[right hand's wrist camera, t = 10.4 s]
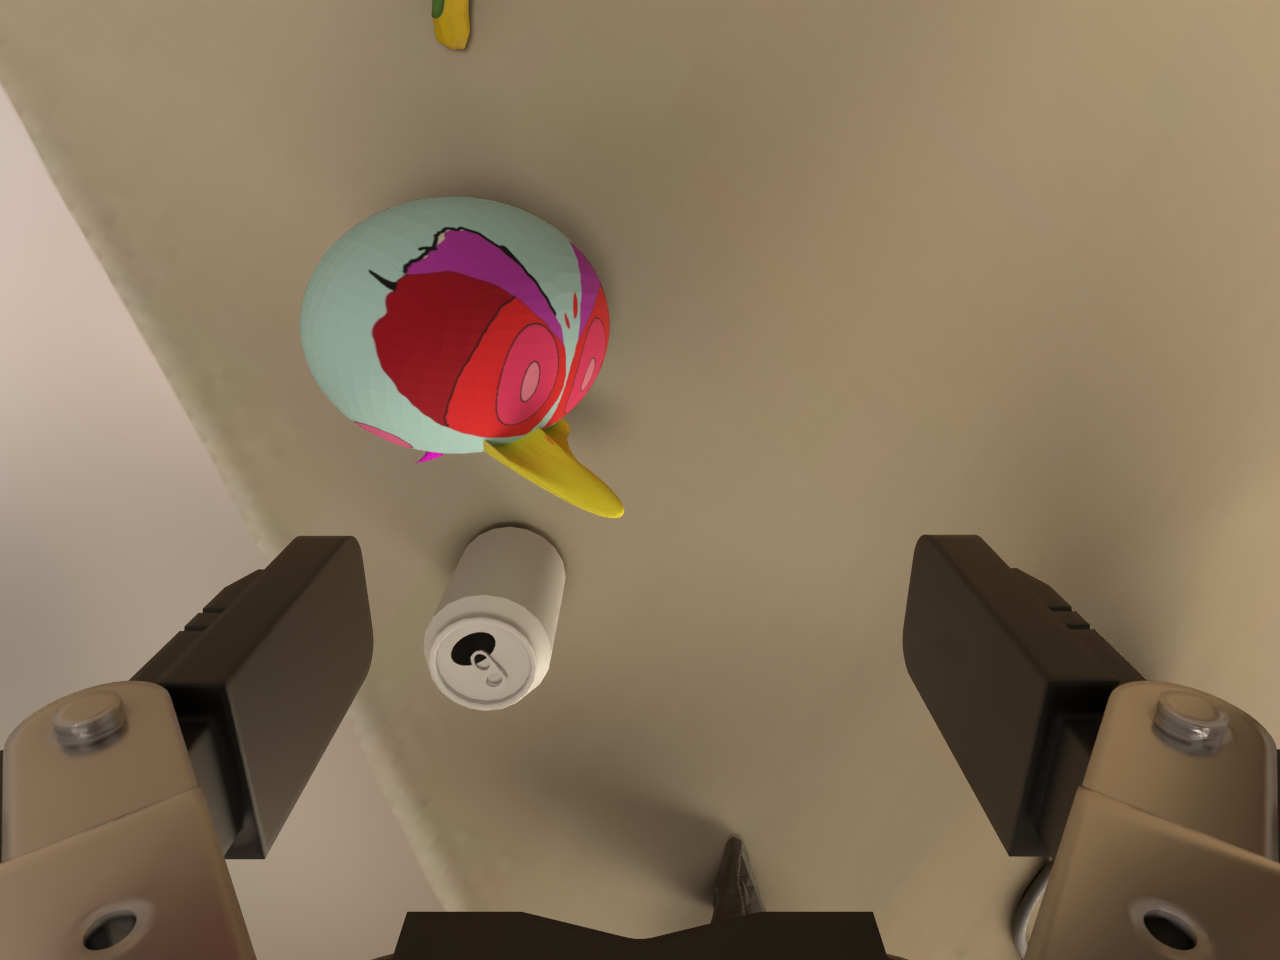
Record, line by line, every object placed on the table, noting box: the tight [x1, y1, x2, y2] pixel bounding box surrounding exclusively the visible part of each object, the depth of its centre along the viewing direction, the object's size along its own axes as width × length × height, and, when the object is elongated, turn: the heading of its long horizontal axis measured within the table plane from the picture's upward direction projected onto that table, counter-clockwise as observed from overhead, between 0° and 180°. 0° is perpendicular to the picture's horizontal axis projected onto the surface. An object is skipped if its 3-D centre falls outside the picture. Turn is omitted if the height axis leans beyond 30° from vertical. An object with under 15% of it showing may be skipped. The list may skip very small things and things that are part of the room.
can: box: [423, 527, 566, 711], centre depth 49 cm, size 8×8×12 cm
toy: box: [300, 196, 624, 518], centre depth 40 cm, size 18×18×15 cm
